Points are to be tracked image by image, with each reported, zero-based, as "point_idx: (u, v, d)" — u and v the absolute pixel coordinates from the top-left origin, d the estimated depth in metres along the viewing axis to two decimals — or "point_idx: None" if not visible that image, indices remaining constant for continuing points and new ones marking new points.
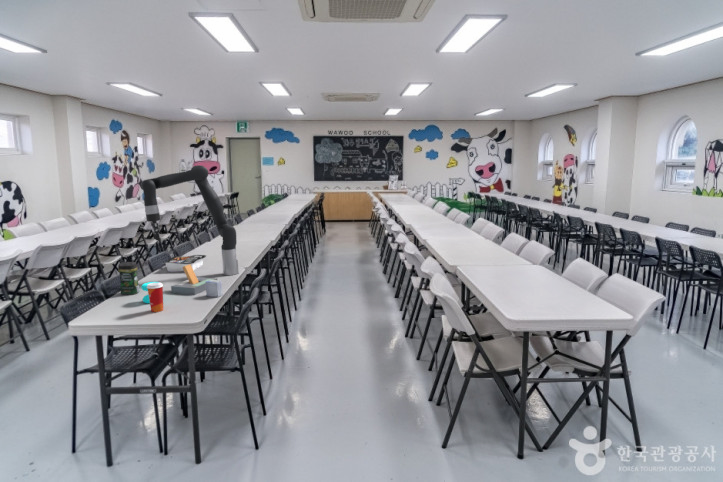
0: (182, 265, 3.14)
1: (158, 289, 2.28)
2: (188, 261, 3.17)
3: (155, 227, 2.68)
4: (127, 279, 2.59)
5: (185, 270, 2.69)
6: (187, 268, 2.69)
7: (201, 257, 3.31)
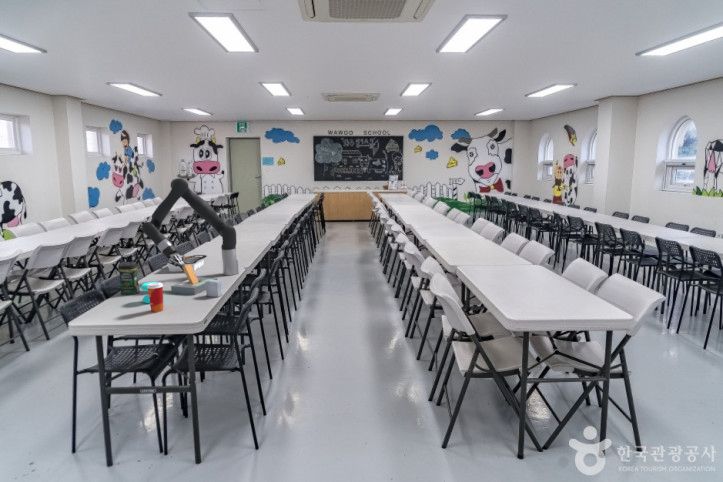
0: None
1: (158, 289, 2.28)
2: (190, 261, 3.17)
3: (172, 263, 2.68)
4: (127, 279, 2.59)
5: (185, 270, 2.69)
6: (187, 268, 2.69)
7: (202, 257, 3.31)
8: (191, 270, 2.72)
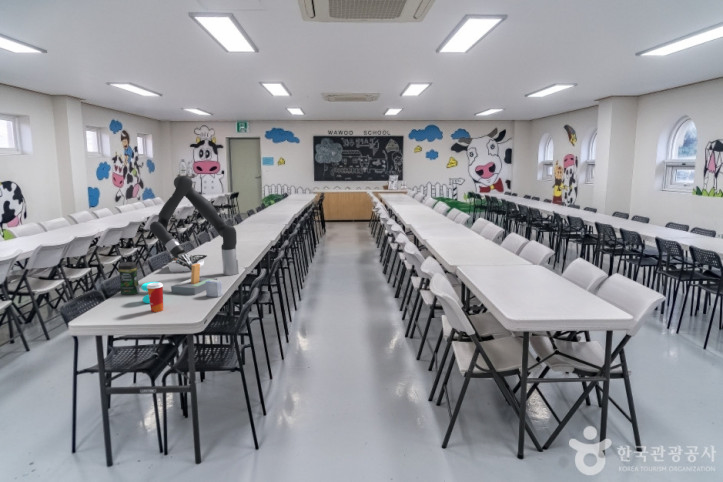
0: None
1: (158, 289, 2.28)
2: None
3: (180, 263, 2.66)
4: (127, 279, 2.59)
5: (193, 269, 2.67)
6: (195, 268, 2.68)
7: (202, 257, 3.31)
8: (198, 270, 2.70)
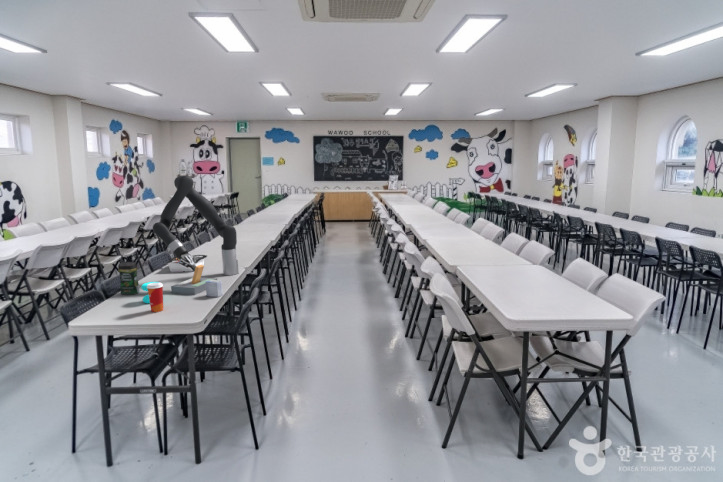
0: None
1: (158, 289, 2.28)
2: None
3: (183, 264, 2.65)
4: (127, 279, 2.59)
5: (196, 270, 2.66)
6: (199, 270, 2.67)
7: (202, 257, 3.31)
8: (200, 272, 2.70)
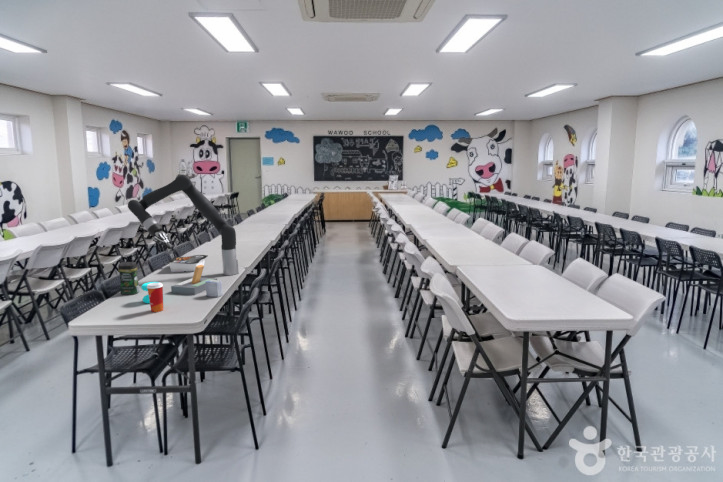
0: (186, 265, 3.14)
1: (158, 289, 2.28)
2: (192, 261, 3.17)
3: (157, 241, 2.71)
4: (127, 279, 2.59)
5: (196, 270, 2.66)
6: (199, 270, 2.67)
7: (203, 257, 3.31)
8: (200, 272, 2.70)
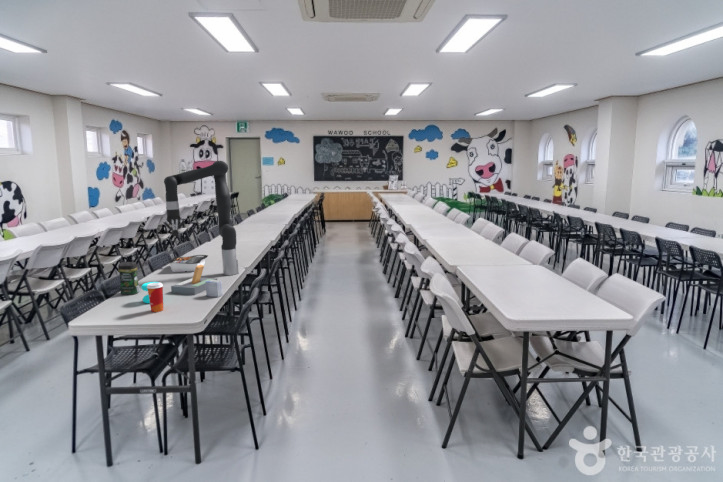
0: (187, 265, 3.14)
1: (158, 289, 2.28)
2: (192, 261, 3.17)
3: (166, 225, 2.83)
4: (127, 279, 2.59)
5: (196, 270, 2.66)
6: (199, 270, 2.67)
7: (203, 257, 3.31)
8: (200, 272, 2.70)
